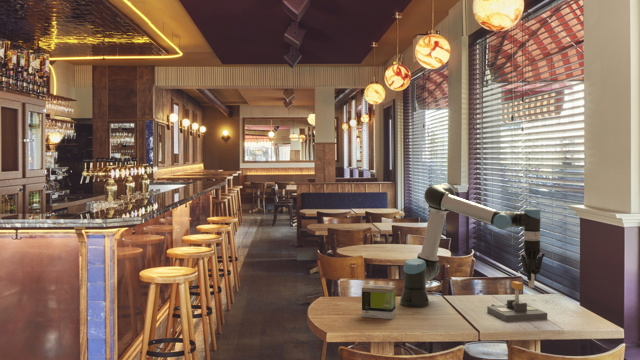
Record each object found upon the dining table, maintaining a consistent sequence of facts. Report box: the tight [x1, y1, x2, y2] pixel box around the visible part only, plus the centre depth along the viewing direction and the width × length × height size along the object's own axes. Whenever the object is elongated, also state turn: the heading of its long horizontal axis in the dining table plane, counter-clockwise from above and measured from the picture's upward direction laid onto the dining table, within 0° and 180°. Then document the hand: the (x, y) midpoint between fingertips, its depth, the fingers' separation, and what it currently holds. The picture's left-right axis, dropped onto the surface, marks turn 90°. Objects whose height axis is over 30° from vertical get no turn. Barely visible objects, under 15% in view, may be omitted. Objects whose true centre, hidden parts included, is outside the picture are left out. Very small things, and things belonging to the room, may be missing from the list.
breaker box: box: [486, 299, 548, 323], centre depth 293 cm, size 22×26×7 cm
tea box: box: [361, 283, 397, 320], centre depth 288 cm, size 15×10×15 cm, turn 71°
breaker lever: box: [511, 281, 524, 307], centre depth 289 cm, size 3×5×13 cm, turn 12°
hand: (531, 287), depth 291 cm, fingers closed
